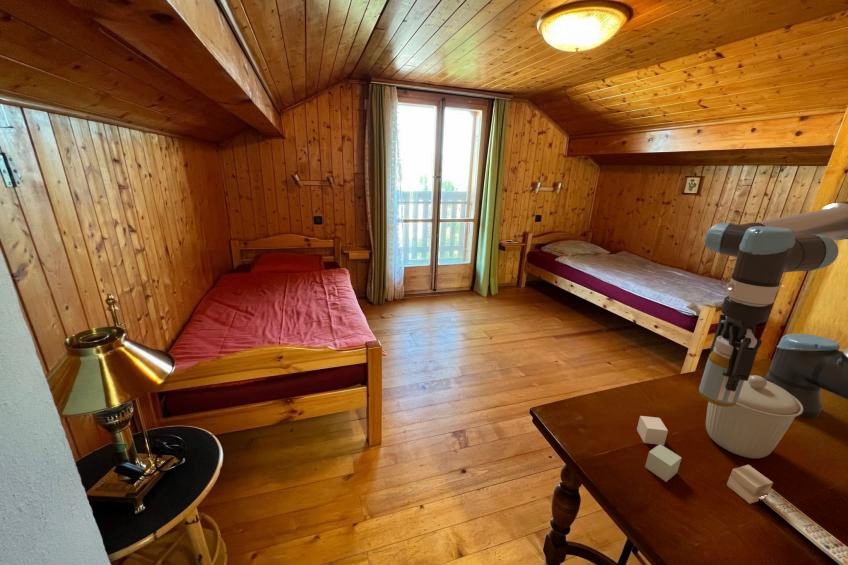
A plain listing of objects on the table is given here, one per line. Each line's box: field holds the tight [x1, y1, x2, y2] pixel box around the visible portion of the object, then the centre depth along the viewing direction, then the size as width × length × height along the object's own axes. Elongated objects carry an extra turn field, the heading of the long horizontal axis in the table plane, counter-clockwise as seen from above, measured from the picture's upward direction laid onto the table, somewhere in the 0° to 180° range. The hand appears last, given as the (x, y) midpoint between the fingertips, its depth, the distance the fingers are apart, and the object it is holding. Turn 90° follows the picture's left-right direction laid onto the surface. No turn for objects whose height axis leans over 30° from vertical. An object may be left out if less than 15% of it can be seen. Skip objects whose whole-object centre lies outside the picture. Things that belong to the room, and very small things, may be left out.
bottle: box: [698, 336, 744, 407], centre depth 80 cm, size 7×7×15 cm
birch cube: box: [726, 464, 774, 504], centre depth 81 cm, size 5×5×5 cm
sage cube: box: [644, 444, 682, 483], centre depth 86 cm, size 5×5×5 cm
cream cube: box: [636, 415, 669, 446], centre depth 97 cm, size 5×5×5 cm
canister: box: [705, 374, 803, 460], centre depth 92 cm, size 18×18×21 cm
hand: (718, 391), depth 82 cm, fingers closed on bottle, 6 cm apart
